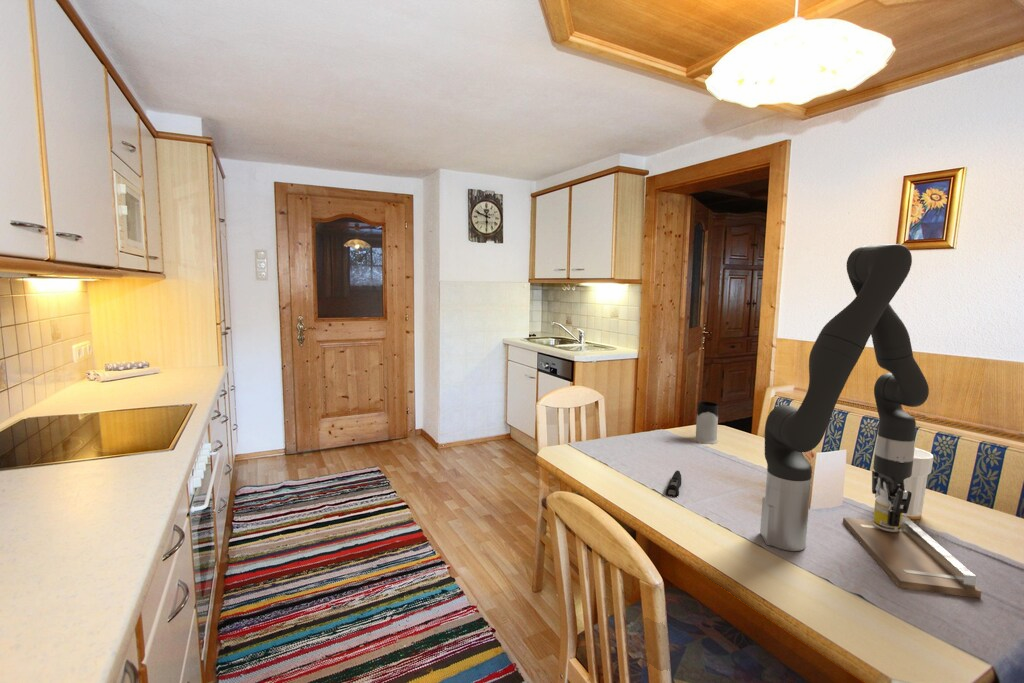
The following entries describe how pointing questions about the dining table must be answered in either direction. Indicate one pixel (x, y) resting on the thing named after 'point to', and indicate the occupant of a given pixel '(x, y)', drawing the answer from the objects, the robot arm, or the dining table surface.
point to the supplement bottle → (883, 513)
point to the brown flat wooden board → (906, 560)
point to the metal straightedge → (938, 553)
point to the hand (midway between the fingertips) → (886, 519)
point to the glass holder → (707, 423)
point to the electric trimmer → (674, 485)
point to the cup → (918, 482)
